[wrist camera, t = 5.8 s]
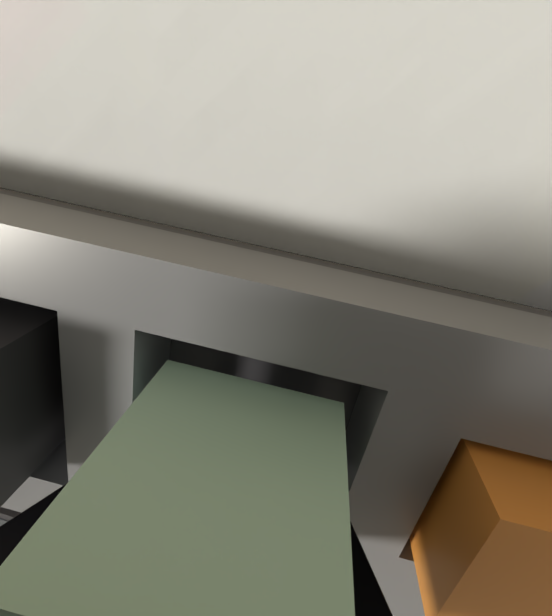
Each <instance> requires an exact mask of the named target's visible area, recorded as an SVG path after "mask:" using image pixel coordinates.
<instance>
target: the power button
mask: <svg viewBox="0 0 552 616" xmlns="http://www.w3.org/2000/svg"><path fill="white" fill-rule="evenodd" d="M409 539H410V544H411V549H412V554H413V559H414V564H415V569H416V574H417V579H418V584H419V588H420V593H421V598H422V603H423V608H424V613H425V616H552V461H551V460H547V459H543V458H539V457H535V456H531V455H527V454H523V453H519V452H515V451H511V450H506V449H502V448H498V447H494V446H490V445H486V444H482V443H478V442H474V441H470V440H466V439H462V438H461V439H460V441H459V443H458V445H457V447H456V449H455V451H454V453H453V455H452V457H451V458H450V460H449V462H448V464H447V466H446V468H445V470H444V472H443V474H442V476H441V478H440V479H439V481H438V483H437V485H436V487H435V489H434V491H433V493H432V495H431V497H430V499H429V500H428V502H427V504H426V506H425V508H424V510H423V512H422V514H421V516H420V518H419V520H418V521H417V523H416V525H415V527H414V529H413V531H412V533H411V535H410V537H409Z"/></svg>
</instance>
